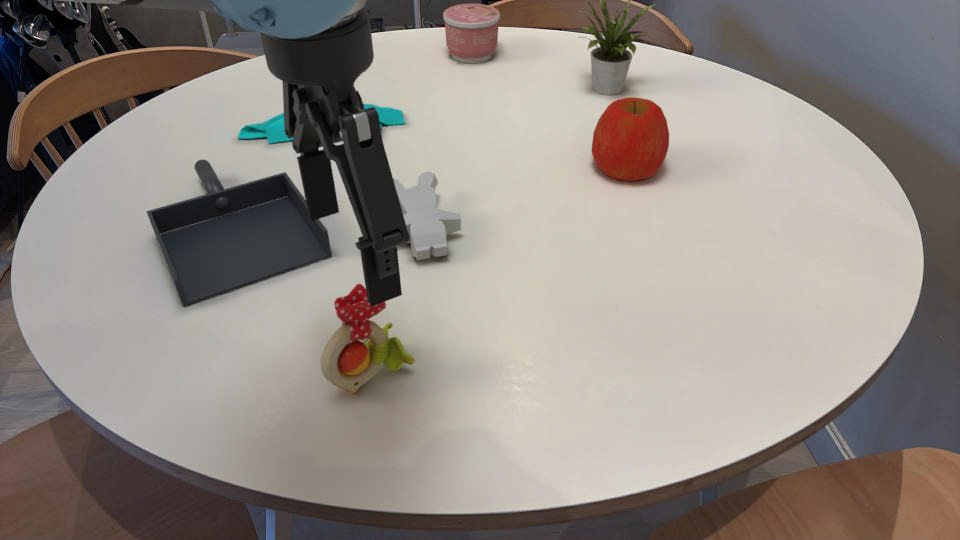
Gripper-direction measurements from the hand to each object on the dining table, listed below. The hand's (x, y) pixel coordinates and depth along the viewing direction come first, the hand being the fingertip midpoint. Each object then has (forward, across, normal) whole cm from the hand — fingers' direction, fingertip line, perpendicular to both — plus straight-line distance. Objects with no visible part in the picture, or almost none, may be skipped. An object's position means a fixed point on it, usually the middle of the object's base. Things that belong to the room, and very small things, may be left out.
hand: (352, 253), depth 61 cm
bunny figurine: (+16, +20, -16) cm, 30 cm away
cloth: (+16, +54, -16) cm, 58 cm away
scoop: (+16, +34, +5) cm, 38 cm away
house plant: (+17, +41, -62) cm, 76 cm away
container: (+17, +65, -50) cm, 83 cm away
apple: (+17, +18, -49) cm, 55 cm away
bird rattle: (+16, 0, 0) cm, 16 cm away
